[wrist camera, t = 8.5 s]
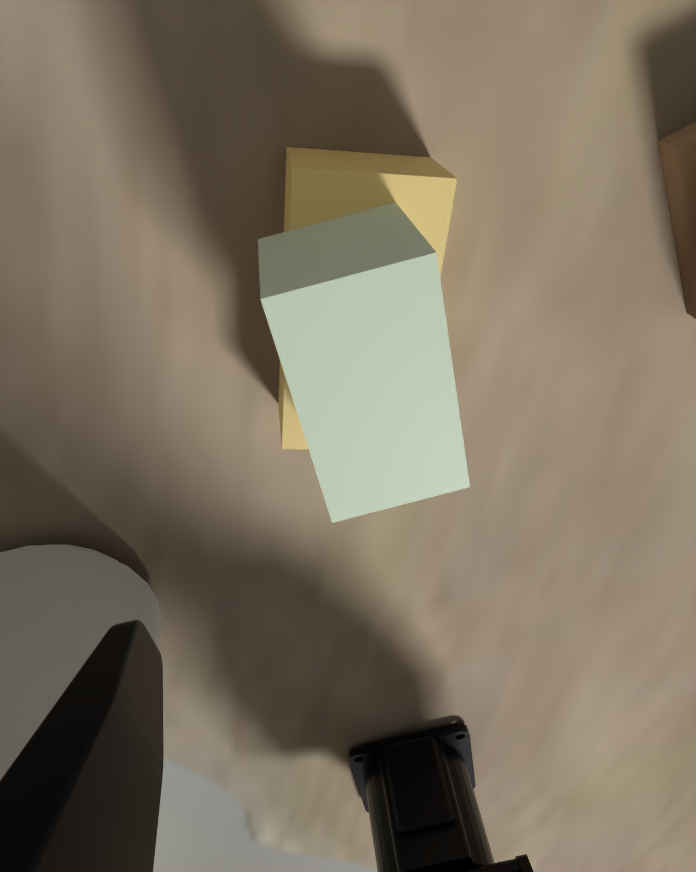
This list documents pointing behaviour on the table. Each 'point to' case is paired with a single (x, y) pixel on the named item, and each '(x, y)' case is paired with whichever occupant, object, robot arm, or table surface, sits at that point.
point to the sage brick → (366, 358)
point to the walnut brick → (682, 203)
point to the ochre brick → (354, 192)
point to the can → (57, 627)
